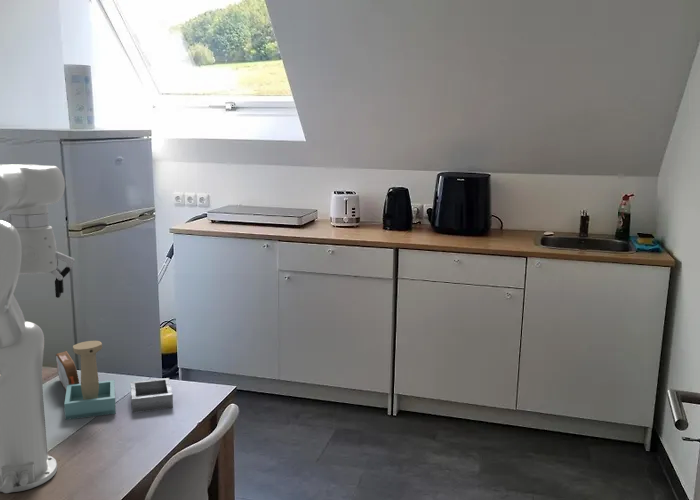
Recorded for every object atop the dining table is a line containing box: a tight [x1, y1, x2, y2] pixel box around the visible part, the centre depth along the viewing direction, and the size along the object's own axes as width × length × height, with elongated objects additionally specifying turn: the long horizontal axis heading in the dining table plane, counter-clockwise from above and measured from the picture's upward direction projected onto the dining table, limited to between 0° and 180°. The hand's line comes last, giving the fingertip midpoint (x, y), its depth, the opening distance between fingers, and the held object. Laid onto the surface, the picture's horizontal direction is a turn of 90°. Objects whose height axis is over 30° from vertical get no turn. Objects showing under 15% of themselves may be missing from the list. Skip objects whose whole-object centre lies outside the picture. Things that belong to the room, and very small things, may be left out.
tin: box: [55, 350, 80, 391], centre depth 167 cm, size 15×3×8 cm, turn 35°
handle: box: [72, 340, 103, 400], centre depth 155 cm, size 5×6×15 cm
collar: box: [130, 377, 174, 414], centre depth 161 cm, size 10×9×4 cm
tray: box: [64, 379, 117, 421], centre depth 157 cm, size 11×11×4 cm
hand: (35, 297), depth 144 cm, fingers open, 9 cm apart
